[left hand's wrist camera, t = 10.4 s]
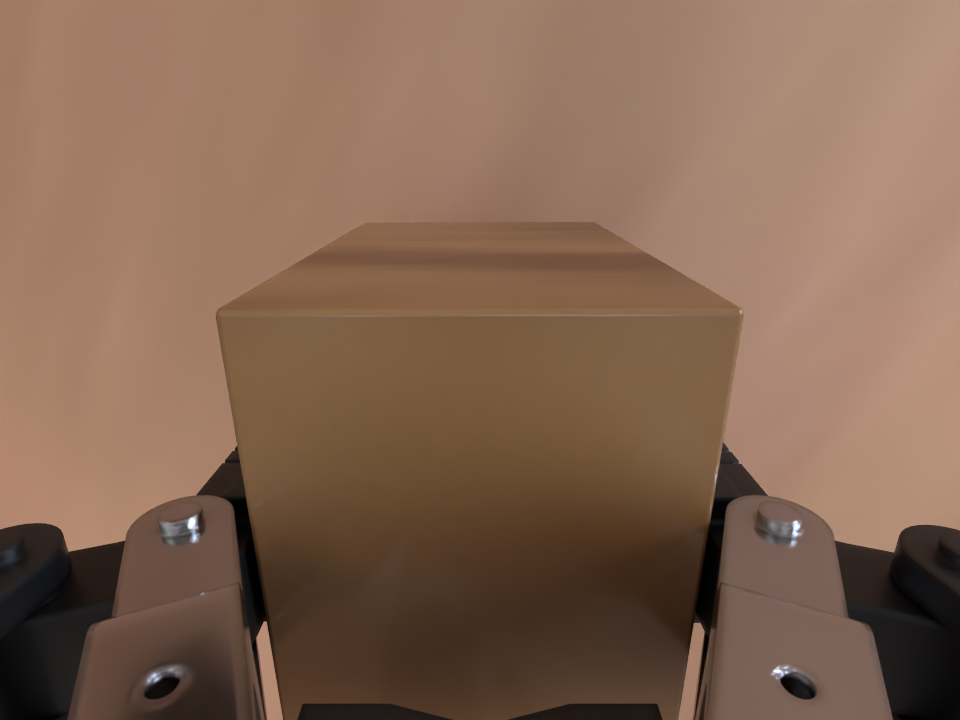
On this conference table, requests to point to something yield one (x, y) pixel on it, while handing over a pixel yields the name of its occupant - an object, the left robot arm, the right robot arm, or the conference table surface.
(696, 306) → the bar
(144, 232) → the conference table surface
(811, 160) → the conference table surface
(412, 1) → the conference table surface
